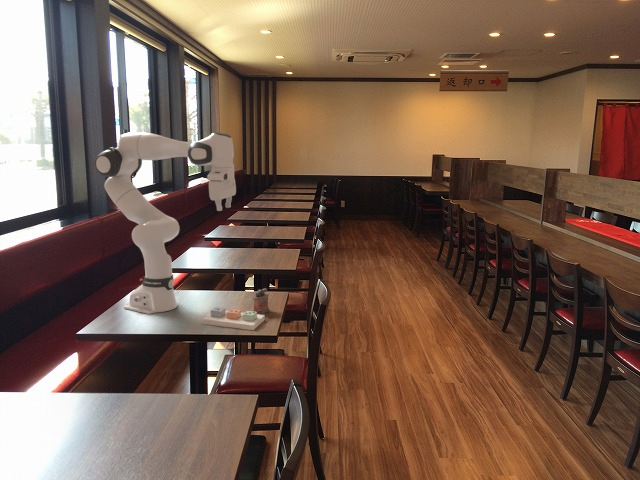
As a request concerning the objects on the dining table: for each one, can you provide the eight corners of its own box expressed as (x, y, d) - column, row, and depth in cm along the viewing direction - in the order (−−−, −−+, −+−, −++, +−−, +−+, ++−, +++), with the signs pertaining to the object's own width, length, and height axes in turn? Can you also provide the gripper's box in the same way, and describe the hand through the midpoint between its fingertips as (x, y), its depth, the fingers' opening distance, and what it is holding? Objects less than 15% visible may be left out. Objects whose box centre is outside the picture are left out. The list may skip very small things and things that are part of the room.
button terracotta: (226, 319, 205) (226, 312, 205) (231, 315, 209) (231, 308, 209) (236, 320, 204) (236, 313, 203) (241, 317, 208) (241, 309, 208)
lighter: (257, 315, 214) (257, 292, 212) (251, 313, 216) (251, 291, 214) (270, 310, 221) (270, 288, 219) (264, 308, 223) (264, 286, 221)
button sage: (242, 321, 203) (242, 314, 203) (247, 317, 207) (247, 310, 207) (252, 322, 202) (252, 315, 202) (257, 318, 206) (257, 311, 206)
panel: (202, 323, 204) (202, 318, 204) (216, 313, 216) (216, 309, 215) (253, 330, 198) (253, 325, 198) (264, 319, 210) (264, 315, 209)
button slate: (210, 317, 207) (210, 310, 206) (216, 313, 211) (215, 306, 211) (220, 318, 206) (220, 311, 205) (225, 315, 210) (225, 307, 209)
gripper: (224, 172, 212) (225, 205, 215) (205, 176, 193) (206, 212, 195) (239, 172, 211) (240, 205, 214) (221, 176, 192) (222, 213, 194)
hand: (224, 209), depth 205 cm, fingers open, 8 cm apart
